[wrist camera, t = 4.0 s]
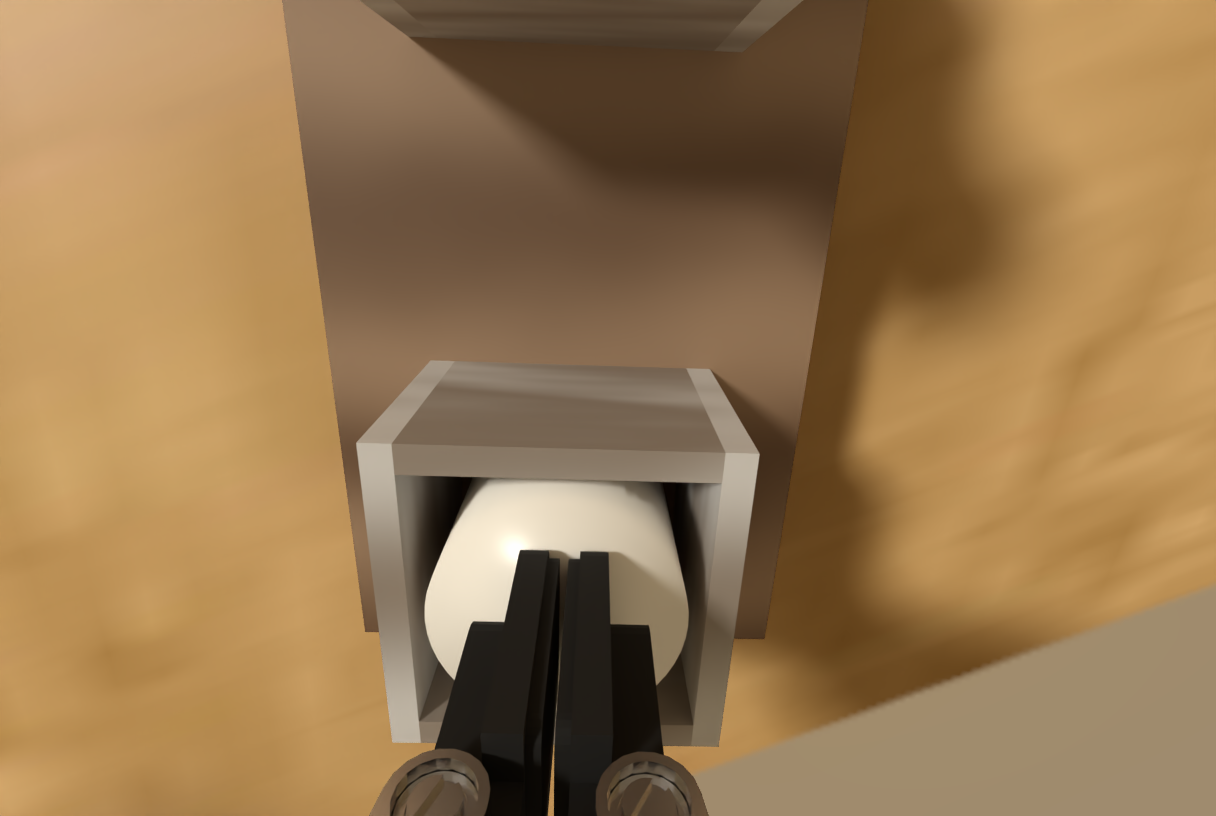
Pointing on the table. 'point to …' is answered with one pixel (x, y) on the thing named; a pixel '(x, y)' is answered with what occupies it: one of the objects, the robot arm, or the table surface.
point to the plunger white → (564, 525)
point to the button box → (571, 281)
